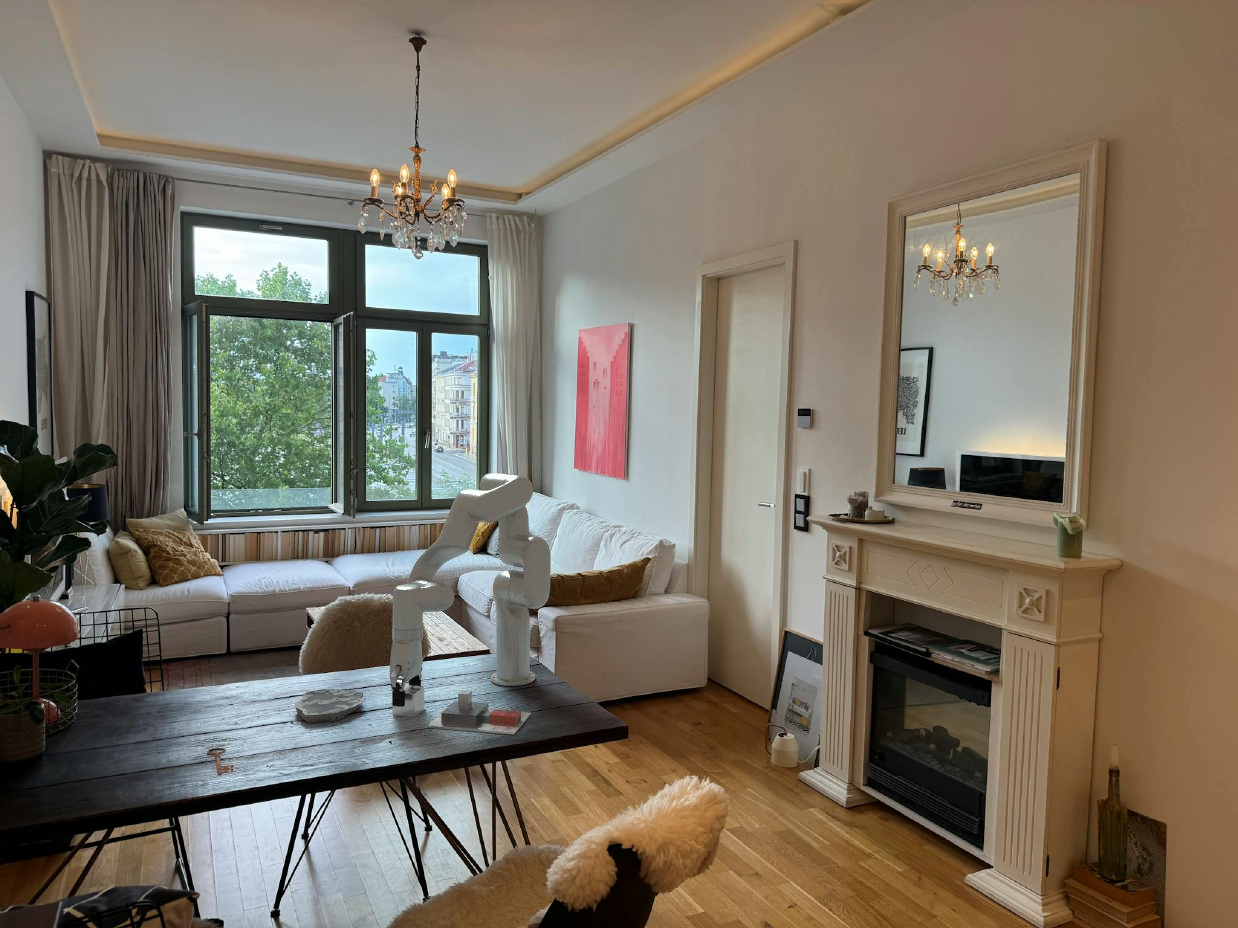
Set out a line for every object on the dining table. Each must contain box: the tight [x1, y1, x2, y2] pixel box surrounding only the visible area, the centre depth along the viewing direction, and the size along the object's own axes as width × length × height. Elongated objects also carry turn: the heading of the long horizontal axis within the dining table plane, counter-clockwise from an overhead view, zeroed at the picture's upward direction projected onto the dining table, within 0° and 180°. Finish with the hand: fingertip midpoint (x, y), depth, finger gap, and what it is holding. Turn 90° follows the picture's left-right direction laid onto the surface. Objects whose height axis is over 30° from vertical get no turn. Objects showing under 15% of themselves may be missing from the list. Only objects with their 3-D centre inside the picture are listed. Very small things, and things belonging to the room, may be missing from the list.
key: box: [207, 747, 235, 776], centre depth 192 cm, size 6×1×15 cm
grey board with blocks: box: [427, 690, 532, 736], centre depth 217 cm, size 14×22×7 cm, turn 79°
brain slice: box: [294, 688, 367, 724], centre depth 223 cm, size 20×17×3 cm
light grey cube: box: [391, 684, 425, 718], centre depth 223 cm, size 6×6×6 cm
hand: (406, 699), depth 222 cm, fingers open, 9 cm apart
